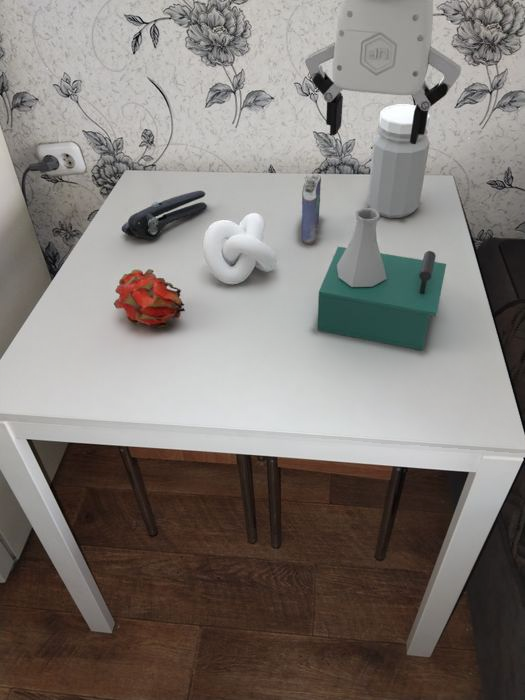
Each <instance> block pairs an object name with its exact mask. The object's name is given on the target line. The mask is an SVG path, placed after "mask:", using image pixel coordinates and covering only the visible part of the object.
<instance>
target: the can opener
mask: <svg viewBox="0 0 525 700" xmlns="http://www.w3.org/2000/svg"><path fill="white" fill-rule="evenodd" d="M205 196H206V192H205V191H204V190H195V191H191V192H188V193H183V194H180V195H176V196H174V197H173V196H172V197H170V198H168V199H165V200H163V201H160V202H158V201H153V203H152V204H151V205H150V206H148V207H146V208H144V209H142V210H139V211H138V212H135V213H134V214H132V215H130V216H129V218H128V219H127V221H126V222H125V223H124V224H123V225H122V226H121V231H122V232H123V233H124V234H125V235H127V236H129V237H138V238H140V239H144V240H154V239H156V238H158V237H159V236H160V234H161V232H162V230H163V229H164V228H165V227H166V226H167V225H169V224H170V223H173V222H176V221H179V220H182V219H186V218H189V217H192V216H194V215H196V214H198V213H200V212H202V211H204V210H205V209H206V208H207V207H208V205H207V204H206V203H205V202H202V201H201V202H197V203H193V204H191V205H187V204H190V203H192V202H195V201H197V200H200V199H203V198H204V197H205ZM185 205H187V206H185ZM183 206H185V207H183ZM180 207H181V208H180ZM178 208H179V209H178ZM161 215H162V216H161Z"/></svg>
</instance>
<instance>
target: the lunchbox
mask: <svg viewBox="0 0 525 700" xmlns="http://www.w3.org/2000/svg"><path fill="white" fill-rule="evenodd" d="M430 318H431V315H428V314H422V313H417V312H411V311H406V310H400V309H395V308H389V307H384V306H378V305H373V304H367V303H362V302H356V301H351V300H345V299H340V298H334V297H329V296H324V295H319V294H318V304H317V327H316V328H317V329H316V330H317V331H320V332H325V333H329V334H334V335H335V334H336V335H340V336H345V337H351V338H356V339H359V340H360V339H361V340H365V341H371V342H376V343H381V344H385V345H392V346H396V347H402V348H405V349H412V350H417V351H423V350H424V347H425V341H426V336H427V331H428V326H429V324H430V323H429V322H430Z"/></svg>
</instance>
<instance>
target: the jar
mask: <svg viewBox="0 0 525 700" xmlns="http://www.w3.org/2000/svg"><path fill="white" fill-rule="evenodd" d="M415 108H416V105H415V104H409V103H399V104H398V103H397V104H393V105H388V106H386V107H384V108H383V109H382V110H380V112H379V120H378V122H379V126H378V127H377V129H378V132H377V133H376V134H375V135H374V137H373V140H372V150H371V159H370V169H369V180H368V191H367V204H368V206H369V208H373V209H375V210H376V211H378V213H379V216H380V217H384V218H387V219H401V218H404V217H407V216H410V215H411V214H413V213H414V212H415V211H416V209H418V207H419V206H420V203H421V198H422V192H423V186H424V180H425V174H426V169H427V163H428V162H427V161H428V156H429V151H430V146H431V145H430V144H431V143H430V140H429V137H428V136H427V135H428V129H427V128H428V127H429V125H430V120H431V115H430V113H429V111H428V116H427V123H426V129H425V133H424V135H420V134H419V136H418V139H417V142H416V144H411V143H410V137H411V130H412V123H413V116H414V111H415Z"/></svg>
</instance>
